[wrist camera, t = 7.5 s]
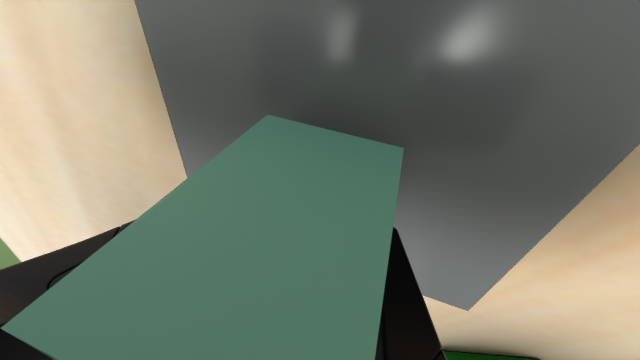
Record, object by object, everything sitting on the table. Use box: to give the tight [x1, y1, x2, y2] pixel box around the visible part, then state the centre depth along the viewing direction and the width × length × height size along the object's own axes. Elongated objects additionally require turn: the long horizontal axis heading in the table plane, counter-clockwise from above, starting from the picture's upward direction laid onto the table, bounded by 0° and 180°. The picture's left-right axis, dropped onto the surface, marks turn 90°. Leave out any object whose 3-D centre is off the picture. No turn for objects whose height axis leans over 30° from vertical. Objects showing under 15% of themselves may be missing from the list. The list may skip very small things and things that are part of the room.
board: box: [135, 0, 640, 311], centre depth 11 cm, size 13×16×1 cm
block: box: [1, 115, 404, 360], centre depth 7 cm, size 4×4×7 cm
